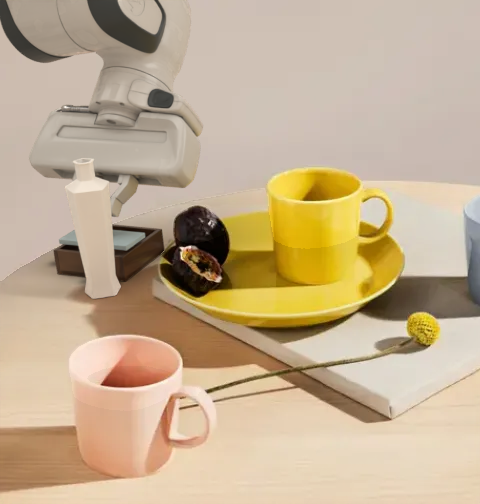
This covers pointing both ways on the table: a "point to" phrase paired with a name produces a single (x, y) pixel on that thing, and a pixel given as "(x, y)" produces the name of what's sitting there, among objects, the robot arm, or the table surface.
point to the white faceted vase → (93, 229)
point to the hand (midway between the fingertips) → (95, 213)
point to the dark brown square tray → (115, 254)
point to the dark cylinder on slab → (120, 238)
